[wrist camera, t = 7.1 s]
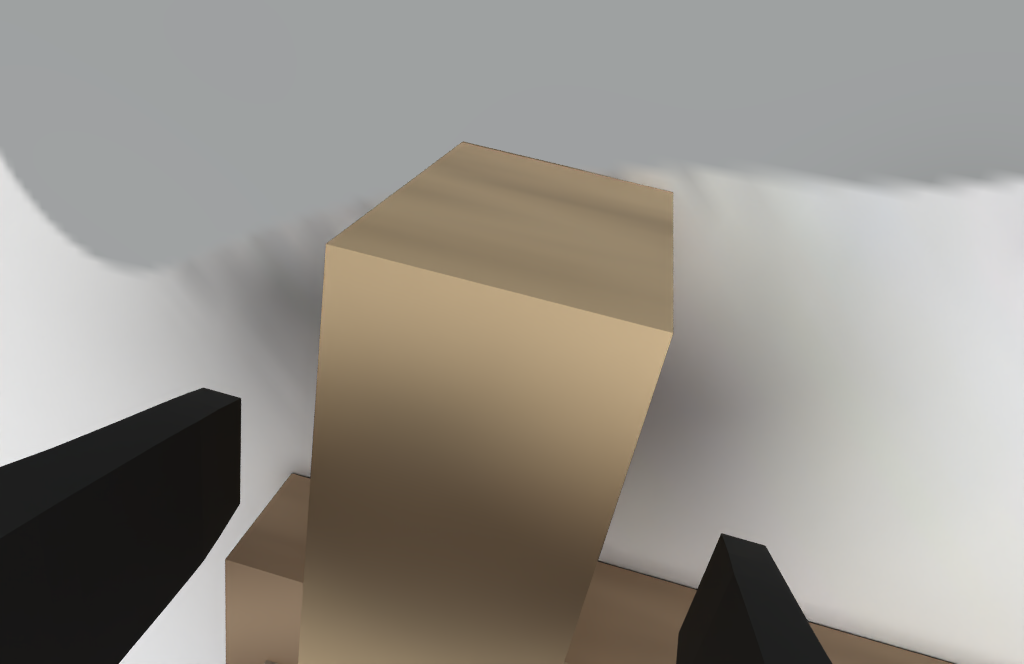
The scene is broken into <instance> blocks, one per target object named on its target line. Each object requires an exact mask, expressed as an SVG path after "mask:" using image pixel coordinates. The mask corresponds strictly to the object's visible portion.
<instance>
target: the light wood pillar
mask: <svg viewBox="0 0 1024 664" xmlns="http://www.w3.org/2000/svg"><path fill="white" fill-rule="evenodd" d="M672 336H673V192H670V191H665V190H661V189H657V188H653V187H649V186H644V185H640V184H636V183H632V182H627V181H623V180H619V179H615V178H611V177H606V176H602V175H598V174H594V172H590V171H585V170H581V169H577V168H573V167H569V166H564V165H560V164H556V163H551V162H548V161H543V160H539V159H535V158H531V157H527V156H522V155H518V154H514V153H510V152H505V151H501V150H497V149H493V148H489V147H485V146H480V145H476V144H472V143H468V142H464V141H463V142H462V143H460V144H459V145H457V146H456V147H455V148H453V149H452V150H451V151H449V152H448V153H447V154H445V155H444V156H443V157H441V158H440V159H439V160H437V161H436V162H435V163H433V164H432V165H431V166H429V167H428V168H427V169H426V170H424V171H423V172H421V173H420V174H419V175H418V176H416V177H415V178H413V179H412V180H411V181H409V182H408V183H407V184H405V185H404V186H403V187H401V188H400V189H399V190H397V191H396V192H395V193H393V194H392V195H391V196H389V197H388V198H387V199H385V200H384V201H383V202H381V203H380V204H379V205H377V206H376V207H375V208H373V209H372V210H371V211H369V212H368V213H367V214H365V215H364V216H363V217H361V218H360V219H359V220H357V221H356V222H355V223H353V224H352V225H351V226H349V227H348V228H347V229H345V230H344V231H343V232H341V233H340V234H339V235H337V236H336V237H335V238H333V239H332V240H331V241H329V242H328V243H327V244H326V251H325V266H324V281H323V296H322V311H321V326H320V341H319V356H318V371H317V386H316V401H315V416H314V431H313V446H312V461H311V476H310V491H309V506H308V522H307V537H306V552H305V567H304V582H303V597H302V612H301V627H300V642H299V657H298V664H564V661H565V658H566V655H567V652H568V649H569V646H570V643H571V640H572V637H573V634H574V631H575V628H576V625H577V622H578V619H579V616H580V613H581V610H582V607H583V604H584V601H585V598H586V595H587V592H588V589H589V586H590V583H591V580H592V577H593V574H594V571H595V568H596V565H597V562H598V559H599V556H600V553H601V550H602V547H603V544H604V541H605V538H606V535H607V532H608V529H609V526H610V523H611V519H612V516H613V513H614V510H615V507H616V504H617V501H618V498H619V495H620V492H621V489H622V486H623V483H624V480H625V477H626V474H627V471H628V468H629V465H630V462H631V459H632V456H633V453H634V450H635V447H636V444H637V441H638V438H639V435H640V432H641V429H642V426H643V423H644V420H645V417H646V414H647V411H648V408H649V405H650V402H651V399H652V396H653V393H654V390H655V387H656V384H657V381H658V378H659V375H660V372H661V369H662V366H663V363H664V360H665V357H666V354H667V351H668V348H669V345H670V342H671V339H672Z"/></svg>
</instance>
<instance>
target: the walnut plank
mask: <svg viewBox="0 0 1024 664" xmlns="http://www.w3.org/2000/svg"><path fill="white" fill-rule="evenodd" d="M309 491H310V478H306V477H303V476H299V475H296V474H291V475H290V476H289V478H288V479H287V480H286V481H285V483H284V484H283V485H282V487H281V488H280V489H279V491H278V492H277V493H276V494H275V496H274V497H273V498H272V500H271V501H270V502H269V503H268V505H267V506H266V507H265V509H264V510H263V511H262V513H261V514H260V515H259V516H258V518H257V519H256V520H255V522H254V523H253V524H252V525H251V527H250V528H249V529H248V531H247V532H246V533H245V535H244V536H243V537H242V538H241V540H240V541H239V542H238V544H237V545H236V546H235V547H234V549H233V550H232V551H231V553H230V554H229V555H228V557H227V558H226V559H225V596H226V664H298V657H299V642H300V627H301V612H302V597H303V582H304V567H305V552H306V537H307V522H308V506H309ZM696 591H697V590H695V589H692V588H688V587H685V586H681V585H678V584H674V583H671V582H667V581H664V580H660V579H657V578H653V577H650V576H646V575H643V574H640V573H636V572H633V571H629V570H626V569H622V568H619V567H615V566H612V565H608V564H605V563H601V562H597V565H596V568H595V571H594V574H593V577H592V580H591V583H590V586H589V589H588V592H587V595H586V598H585V601H584V604H583V607H582V610H581V613H580V616H579V619H578V622H577V625H576V628H575V631H574V634H573V637H572V640H571V643H570V646H569V649H568V652H567V655H566V658H565V661H564V664H676V658H677V646H678V633H679V631H680V629H681V626H682V624H683V622H684V619H685V617H686V615H687V612H688V610H689V608H690V605H691V603H692V601H693V598H694V596H695V594H696ZM809 624H810V626H811V628H812V630H813V631H814V633H815V635H816V637H817V638H818V640H819V642H820V643H821V645H822V647H823V649H824V650H825V652H826V654H827V655H828V657H829V659H830V660H831V662H832V664H952V663H949V662H945V661H942V660H938V659H935V658H931V657H928V656H924V655H921V654H917V653H914V652H910V651H907V650H903V649H900V648H896V647H893V646H890V645H886V644H883V643H879V642H876V641H872V640H869V639H865V638H862V637H858V636H855V635H851V634H848V633H844V632H841V631H837V630H834V629H830V628H827V627H824V626H820V625H817V624H813V623H810V622H809Z"/></svg>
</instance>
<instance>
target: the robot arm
mask: <svg viewBox="0 0 1024 664" xmlns="http://www.w3.org/2000/svg"><path fill="white" fill-rule="evenodd" d="M240 457H241V398H238V397H235V396H231V395H228V394H224V393H220V392H217V391H213V390H210V389H206V388H201V389H198V390H196V391H193V392H190V393H187V394H184V395H182V396H179V397H177V398H174V399H172V400H169V401H167V402H164V403H162V404H159V405H157V406H154V407H152V408H150V409H147V410H145V411H142V412H140V413H137V414H135V415H133V416H130V417H128V418H125V419H123V420H121V421H118V422H116V423H113V424H111V425H108V426H106V427H103V428H101V429H98V430H96V431H93V432H91V433H89V434H86V435H84V436H81V437H79V438H76V439H74V440H71V441H69V442H66V443H64V444H61V445H59V446H56V447H54V448H51V449H48V450H46V451H43V452H40V453H37V454H35V455H32V456H29V457H27V458H24V459H21V460H18V461H16V462H13V463H10V464H7V465H5V466H2V467H0V664H119V663H120V661H121V660H122V659H123V658H124V657H125V655H126V654H127V653H128V652H129V651H130V649H131V648H132V647H133V646H134V645H135V643H136V642H137V641H138V640H139V639H140V637H141V636H142V635H143V634H144V633H145V631H146V630H147V629H148V628H149V627H150V625H151V624H152V623H153V622H154V621H155V620H156V618H157V617H158V616H159V615H160V614H161V612H162V611H163V610H164V609H165V608H166V606H167V605H168V604H169V603H170V601H171V600H172V599H173V598H174V597H175V595H176V594H177V593H178V592H179V591H180V589H181V588H182V587H183V586H184V584H185V583H186V582H187V581H188V580H189V578H190V577H191V576H192V575H193V573H194V572H195V571H196V570H197V568H198V567H199V566H200V565H201V563H202V562H203V561H204V559H205V558H206V556H207V555H208V553H209V552H210V550H211V549H212V547H213V546H214V544H215V543H216V541H217V540H218V538H219V537H220V535H221V533H222V532H223V530H224V529H225V527H226V525H227V524H228V522H229V520H230V519H231V517H232V516H233V514H234V512H235V511H236V509H237V507H238V506H239V504H240ZM676 664H832V662H831V660H830V659H829V657H828V655H827V654H826V652H825V650H824V649H823V647H822V645H821V643H820V642H819V640H818V638H817V637H816V635H815V633H814V631H813V630H812V628H811V626H810V624H809V622H808V621H807V619H806V617H805V615H804V614H803V612H802V610H801V608H800V607H799V605H798V603H797V601H796V599H795V598H794V596H793V594H792V592H791V591H790V589H789V587H788V585H787V583H786V582H785V580H784V578H783V576H782V574H781V573H780V571H779V569H778V567H777V566H776V564H775V562H774V560H773V558H772V557H771V555H770V553H769V551H768V550H767V548H766V546H764V545H761V544H757V543H754V542H750V541H747V540H743V539H740V538H736V537H732V536H729V535H725V534H722V533H721V536H720V538H719V540H718V543H717V545H716V547H715V550H714V552H713V554H712V557H711V559H710V561H709V564H708V566H707V568H706V570H705V573H704V575H703V577H702V580H701V582H700V584H699V587H698V589H697V591H696V594H695V596H694V598H693V601H692V603H691V605H690V608H689V610H688V612H687V615H686V617H685V619H684V622H683V624H682V626H681V629H680V631H679V633H678V646H677V658H676Z"/></svg>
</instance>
